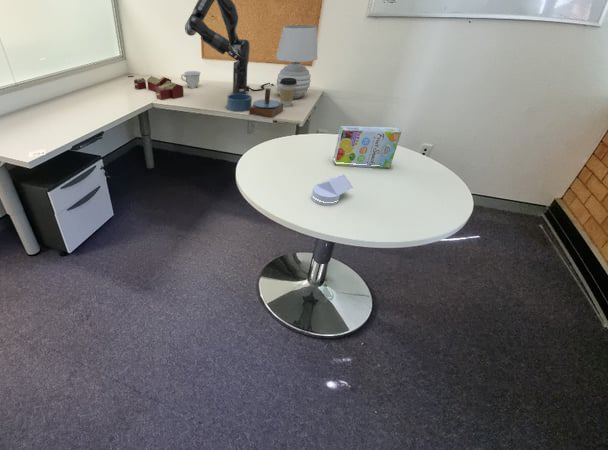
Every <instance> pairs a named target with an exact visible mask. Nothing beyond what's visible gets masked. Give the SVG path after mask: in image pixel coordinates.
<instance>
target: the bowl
mask: <svg viewBox="0 0 608 450" xmlns="http://www.w3.org/2000/svg"><path fill="white" fill-rule="evenodd" d="M252 101H253V96H252V95H251V94H247V93H246V94H233V93H232V94H228V95H227V96H226V108H227V110H229V111H231V112H240V113H241V112H247V111H250V107H251V106H252V105H253V103H252Z"/></svg>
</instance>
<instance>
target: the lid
mask: <svg viewBox="0 0 608 450" xmlns="http://www.w3.org/2000/svg"><path fill="white" fill-rule="evenodd" d="M264 90H265V91H264V99H258V100H254V101H253V103H252V106H253V105H254V106H256V107H260V108H276V107H279V106H280V105H281V101H278V100H276V99H271V87H266V88H264Z"/></svg>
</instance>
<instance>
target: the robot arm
mask: <svg viewBox="0 0 608 450" xmlns="http://www.w3.org/2000/svg"><path fill="white" fill-rule="evenodd" d="M214 2H216V4H217V6H218V9H219V13H220V16H221V19H222V22H223V25H224V28H225V31H226V34H227V38H226V37H224V36H223V35H222V34H221V33H218V32H216V31H215V30H213V29H212V28H210V27H208V25H207V24H206V23H205V22H204V20H205V18H206V16H207V15H208V13H209V11H210V9H211V7H212V5H214ZM238 24H239V13H238V10H237V6H236V4H235V3H234V1H233V0H197V2H196V3H195V6H194V8H193V10H192V13H191V14H190V15H189V17H188V19H187V20H186V23H185V25H184V32H185V34H186V35H188V36H190V37H193V36H195V35H196V34H198V35H199V36H200V40H201V41H202V42H203V43H205V44H206V45H208V46H210V47H211V48H212V49H213V50H215V51H216V52H218V53H219V54H221V55H224V54H226V53H227V55H228V56H229V57H231V58H233V60H235V61H234V62H233V68H232V70H233V71H232V94H247V92H249V91H253V92H260V91H263V90H265V87H264V86H267V85H271V86H275V85H274V83H272V84H270V83H271V82H267V83H264V84H261V85H260V88H259V89H257V88H256V89H253V88H251V87H250V86H249V85H248V65H249V61H250V52H251V44H250V41H249V40H248V39H246V38H245V39H244V38H242V39H241V38H239V36H238V33H237V28H238Z"/></svg>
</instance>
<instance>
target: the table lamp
mask: <svg viewBox="0 0 608 450" xmlns="http://www.w3.org/2000/svg"><path fill="white" fill-rule="evenodd" d="M275 59H276V60H277V61H280V62H291V63H289V64H287V65H285V66H283V68H282V69H280V71H279V73H277V78H276V87H277V88H276V89H277V91H278V92H279V94H280V88H281V83H280V81H281V79H283V78H294V79H296V81H297V84H296V86H295V91H294V96H293V100H295V99H300V98H301V97H302V96H304V95H305V94H306V92H308V90H309V88H310V85H311V84H310V83H311V73H310V70H309V69H308V68H307V67H306V66H305V65H303V64H301V63H306V62H307V63H308V62H313V61H316V60H318V26H316V25H312V24H311V25H310V24H292V25H284V26H283V27H282V32H281V36H280V40H279V43H278V47H277V51H276V55H275Z"/></svg>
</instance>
